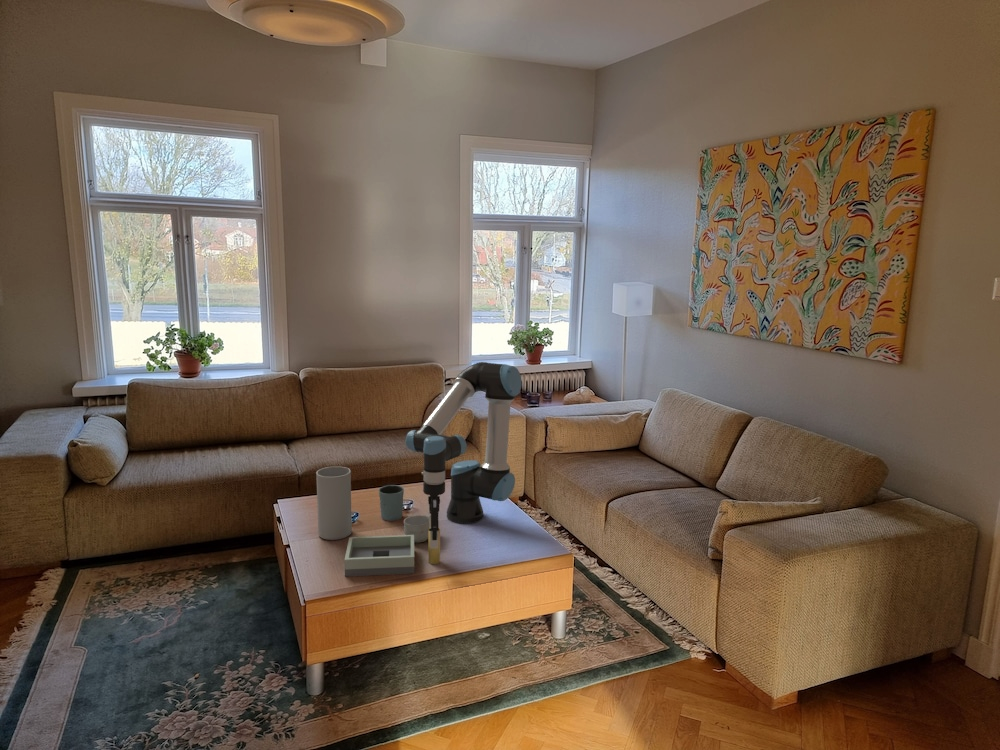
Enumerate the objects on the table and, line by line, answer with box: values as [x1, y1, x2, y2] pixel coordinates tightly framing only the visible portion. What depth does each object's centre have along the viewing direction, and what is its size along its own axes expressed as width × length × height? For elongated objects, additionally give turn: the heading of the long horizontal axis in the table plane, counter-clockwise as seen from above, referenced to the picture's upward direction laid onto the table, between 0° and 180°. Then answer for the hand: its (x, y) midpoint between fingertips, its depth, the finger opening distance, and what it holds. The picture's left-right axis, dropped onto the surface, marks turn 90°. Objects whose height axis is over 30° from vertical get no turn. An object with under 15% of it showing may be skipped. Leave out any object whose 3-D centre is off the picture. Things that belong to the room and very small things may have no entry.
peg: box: [428, 528, 441, 565], centre depth 233 cm, size 4×4×12 cm
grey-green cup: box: [378, 484, 405, 522], centre depth 272 cm, size 10×10×12 cm
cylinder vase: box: [315, 466, 353, 541], centre depth 253 cm, size 12×12×25 cm
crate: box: [344, 534, 415, 577], centre depth 232 cm, size 23×18×6 cm
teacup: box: [403, 514, 429, 543], centre depth 252 cm, size 14×11×8 cm
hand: (433, 539), depth 232 cm, fingers open, 13 cm apart
